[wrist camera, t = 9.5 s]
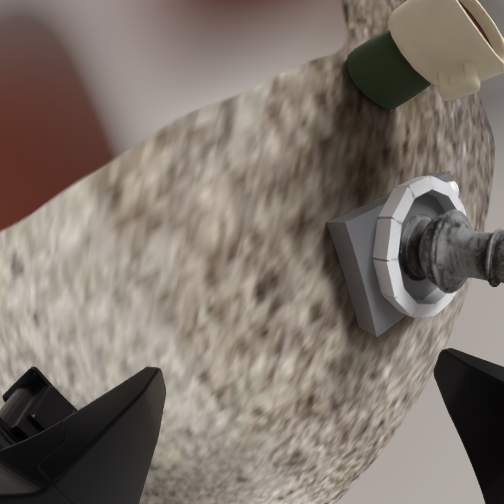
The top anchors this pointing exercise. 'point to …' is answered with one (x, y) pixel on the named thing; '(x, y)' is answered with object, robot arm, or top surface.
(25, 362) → the top surface
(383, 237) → the faceted bowl on plate
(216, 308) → the top surface
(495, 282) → the grey stone finial
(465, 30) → the character mug
